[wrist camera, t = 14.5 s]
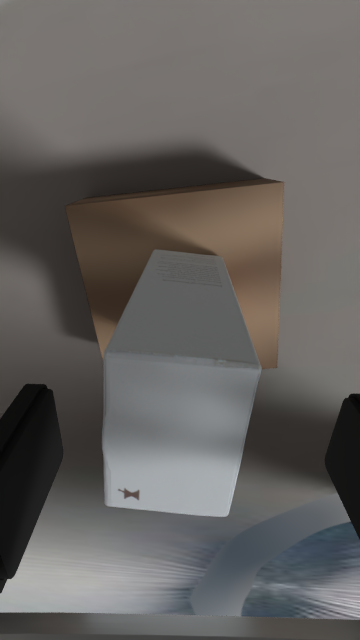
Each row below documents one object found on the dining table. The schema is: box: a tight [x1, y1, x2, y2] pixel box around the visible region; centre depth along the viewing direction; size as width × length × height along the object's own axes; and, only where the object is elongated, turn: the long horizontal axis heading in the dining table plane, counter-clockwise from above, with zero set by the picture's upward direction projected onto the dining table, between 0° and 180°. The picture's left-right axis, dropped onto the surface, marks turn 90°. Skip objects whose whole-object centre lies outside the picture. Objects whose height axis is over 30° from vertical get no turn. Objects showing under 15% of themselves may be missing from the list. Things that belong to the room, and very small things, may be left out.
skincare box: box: [102, 249, 262, 517], centre depth 15 cm, size 6×4×12 cm
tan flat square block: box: [65, 178, 284, 369], centre depth 22 cm, size 12×12×5 cm
